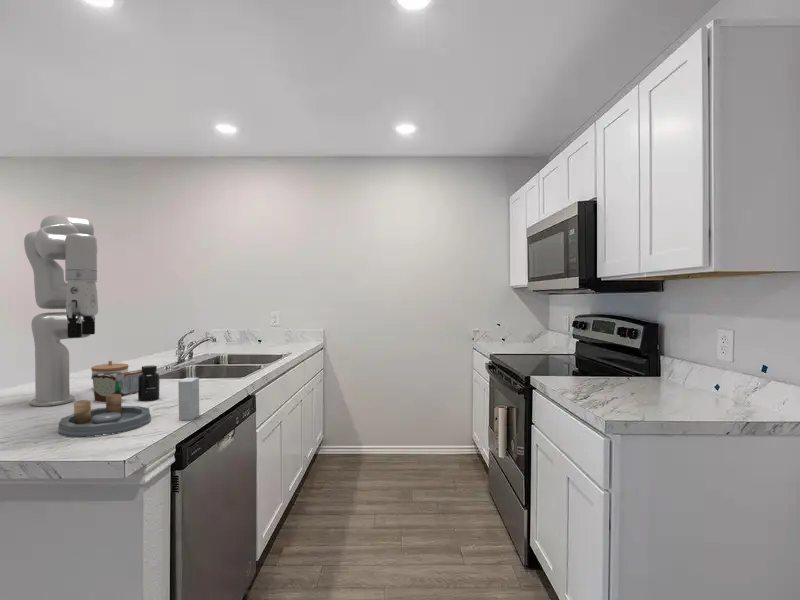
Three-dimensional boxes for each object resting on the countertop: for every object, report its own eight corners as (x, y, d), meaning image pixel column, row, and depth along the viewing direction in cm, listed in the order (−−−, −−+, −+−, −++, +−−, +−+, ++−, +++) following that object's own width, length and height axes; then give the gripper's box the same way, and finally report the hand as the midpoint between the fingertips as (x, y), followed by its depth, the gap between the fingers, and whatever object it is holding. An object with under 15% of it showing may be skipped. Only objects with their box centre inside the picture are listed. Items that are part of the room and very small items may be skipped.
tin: (147, 388, 182) (147, 367, 182) (153, 389, 181) (153, 368, 181) (111, 396, 168) (111, 374, 168) (117, 397, 167) (117, 374, 167)
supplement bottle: (150, 401, 161) (150, 368, 161) (133, 400, 162) (133, 367, 162) (163, 397, 168) (163, 365, 167) (147, 396, 169) (147, 364, 169)
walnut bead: (103, 415, 138) (103, 396, 138) (116, 412, 142) (116, 393, 142) (110, 417, 136) (110, 397, 136) (124, 414, 140) (124, 395, 140)
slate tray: (42, 428, 129) (42, 419, 129) (124, 410, 149) (124, 402, 149) (84, 442, 118) (84, 431, 118) (167, 420, 138) (167, 411, 138)
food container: (132, 400, 163) (132, 372, 163) (117, 404, 157) (116, 375, 157) (107, 397, 167) (107, 370, 167) (91, 401, 161) (91, 373, 161)
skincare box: (185, 415, 144) (185, 377, 144) (199, 414, 144) (199, 377, 144) (178, 420, 138) (177, 381, 138) (192, 420, 138) (192, 381, 138)
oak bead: (78, 424, 129) (78, 403, 129) (71, 422, 131) (71, 402, 131) (93, 421, 132) (93, 400, 132) (86, 419, 134) (86, 399, 134)
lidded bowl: (106, 392, 175) (106, 364, 174) (83, 390, 179) (83, 362, 179) (135, 386, 186) (135, 359, 186) (114, 384, 191) (113, 358, 191)
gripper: (84, 276, 123) (84, 338, 124) (106, 277, 140) (107, 333, 140) (52, 275, 121) (52, 339, 122) (78, 277, 138) (79, 333, 138)
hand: (81, 335), depth 131 cm, fingers open, 9 cm apart
